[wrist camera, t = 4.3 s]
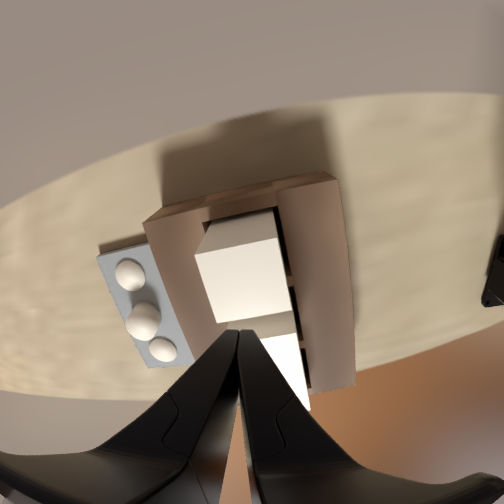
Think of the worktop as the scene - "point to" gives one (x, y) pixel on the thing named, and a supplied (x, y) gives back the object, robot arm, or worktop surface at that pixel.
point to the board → (295, 262)
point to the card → (146, 294)
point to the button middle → (278, 341)
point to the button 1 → (243, 266)
